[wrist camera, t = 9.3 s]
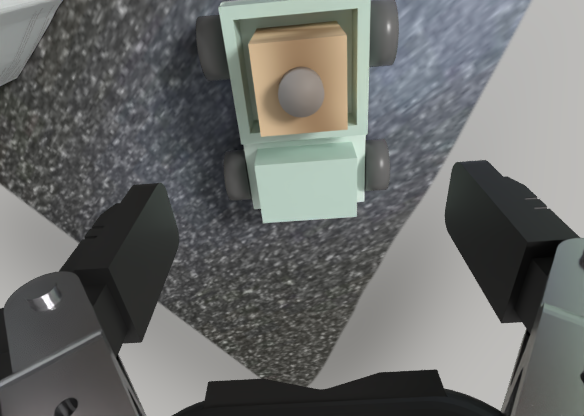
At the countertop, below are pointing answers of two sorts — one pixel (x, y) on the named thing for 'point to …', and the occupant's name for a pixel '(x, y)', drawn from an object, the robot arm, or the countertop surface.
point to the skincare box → (21, 32)
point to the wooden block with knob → (300, 78)
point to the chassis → (306, 146)
